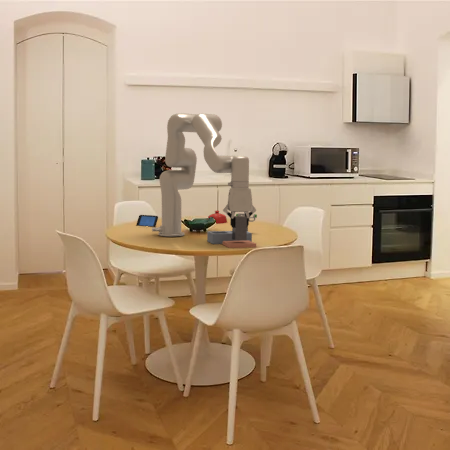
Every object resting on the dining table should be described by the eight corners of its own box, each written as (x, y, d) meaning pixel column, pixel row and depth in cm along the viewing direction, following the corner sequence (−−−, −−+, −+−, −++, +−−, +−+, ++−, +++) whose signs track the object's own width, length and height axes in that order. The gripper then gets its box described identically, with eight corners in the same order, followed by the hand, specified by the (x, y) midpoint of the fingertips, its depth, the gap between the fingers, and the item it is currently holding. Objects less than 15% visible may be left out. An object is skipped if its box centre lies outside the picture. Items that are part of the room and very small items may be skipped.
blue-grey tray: (212, 244, 287) (212, 233, 286) (207, 241, 296) (207, 231, 296) (251, 243, 291) (251, 233, 291) (245, 240, 301) (245, 230, 301)
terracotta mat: (229, 247, 275) (229, 244, 275) (222, 244, 286) (222, 241, 286) (256, 247, 278) (256, 243, 278) (248, 243, 289) (248, 240, 289)
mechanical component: (255, 234, 325) (256, 214, 324) (235, 233, 327) (235, 213, 326) (256, 233, 328) (257, 213, 327) (236, 232, 330) (236, 213, 329)
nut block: (235, 240, 279) (235, 216, 278) (232, 238, 284) (232, 215, 283) (246, 240, 280) (246, 216, 279) (243, 238, 285) (243, 215, 284)
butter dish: (216, 227, 358) (217, 211, 357) (202, 225, 366) (202, 210, 365) (231, 225, 366) (231, 210, 365) (217, 224, 374) (217, 209, 374)
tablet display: (129, 229, 342) (129, 216, 341) (139, 227, 351) (139, 214, 351) (148, 230, 337) (148, 217, 337) (158, 228, 347) (158, 215, 346)
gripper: (223, 185, 274) (222, 228, 276) (261, 185, 278) (260, 228, 280) (218, 184, 281) (218, 226, 283) (256, 184, 285) (255, 226, 287)
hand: (239, 226), depth 281 cm, fingers closed on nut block, 5 cm apart
